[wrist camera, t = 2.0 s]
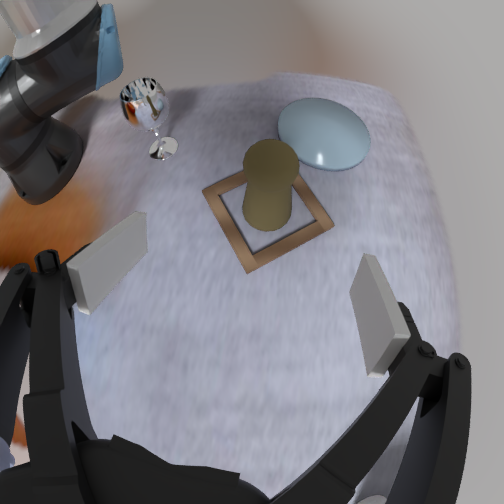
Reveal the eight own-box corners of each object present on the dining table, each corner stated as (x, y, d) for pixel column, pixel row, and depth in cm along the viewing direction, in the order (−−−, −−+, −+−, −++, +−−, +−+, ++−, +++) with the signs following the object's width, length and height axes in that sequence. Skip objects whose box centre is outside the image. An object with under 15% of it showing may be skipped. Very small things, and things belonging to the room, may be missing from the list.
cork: (273, 179, 34) (279, 121, 24) (301, 215, 33) (320, 163, 22) (232, 202, 33) (224, 146, 23) (260, 240, 32) (263, 195, 21)
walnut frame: (202, 192, 34) (201, 190, 33) (282, 155, 35) (283, 153, 35) (247, 274, 31) (246, 273, 30) (333, 227, 32) (334, 225, 32)
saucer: (260, 117, 38) (260, 112, 37) (331, 95, 40) (332, 90, 38) (313, 185, 34) (315, 181, 33) (384, 153, 36) (387, 149, 35)
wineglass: (143, 167, 35) (110, 110, 24) (147, 137, 37) (121, 81, 25) (181, 161, 35) (158, 98, 24) (183, 131, 37) (164, 70, 26)
